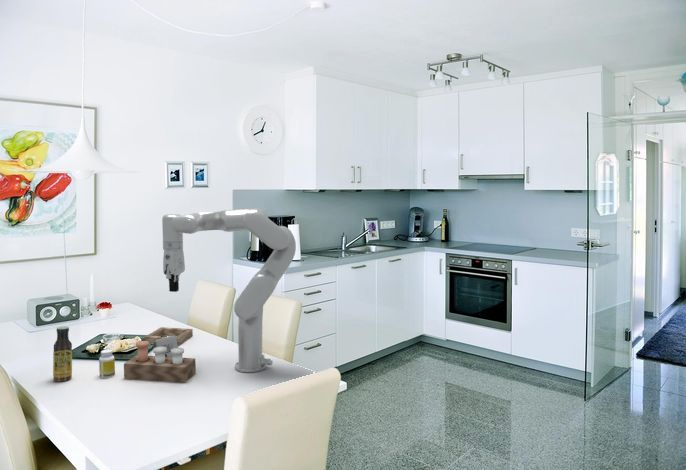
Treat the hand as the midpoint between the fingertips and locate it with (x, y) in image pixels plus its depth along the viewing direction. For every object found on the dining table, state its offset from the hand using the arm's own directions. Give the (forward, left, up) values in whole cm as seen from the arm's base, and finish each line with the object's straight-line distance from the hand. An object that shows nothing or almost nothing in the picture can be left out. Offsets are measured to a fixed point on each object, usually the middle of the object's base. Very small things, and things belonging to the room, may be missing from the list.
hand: (174, 291), depth 208 cm
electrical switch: (+8, -8, -31) cm, 33 cm away
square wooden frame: (+18, -32, -31) cm, 48 cm away
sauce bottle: (+35, +20, -31) cm, 51 cm away
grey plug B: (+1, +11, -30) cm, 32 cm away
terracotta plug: (+8, +11, -28) cm, 31 cm away
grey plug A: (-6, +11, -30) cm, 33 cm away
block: (+1, +11, -31) cm, 33 cm away
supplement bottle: (+21, +14, -31) cm, 40 cm away
